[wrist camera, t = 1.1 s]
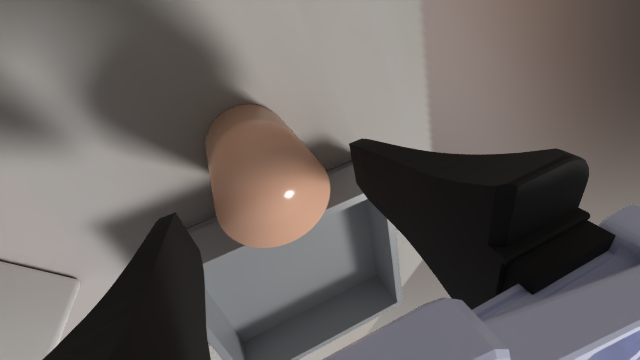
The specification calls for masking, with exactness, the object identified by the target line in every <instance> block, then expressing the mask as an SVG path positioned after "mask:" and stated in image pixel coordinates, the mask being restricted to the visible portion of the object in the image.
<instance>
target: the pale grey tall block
mask: <svg viewBox="0 0 640 360" xmlns="http://www.w3.org/2000/svg"><path fill="white" fill-rule="evenodd" d="M79 288H80V281H79V280H77V279H74V278H69V277H65V276H61V275H57V274H52V273H48V272H44V271H39V270H35V269H31V268H27V267H22V266H18V265H14V264H10V263H5V262H1V261H0V360H42V359H43V358H44V357H46V356H47V355H48V354H49V353H50V352H51V351H52V350H53V349H54V348H55V347H56V346H57V345H58V343H59V341H60V338H61V336H62V333H63V330H64V328H65V325H66V322H67V320H68V317H69V314H70V312H71V309H72V306H73V304H74V301H75V298H76V296H77V293H78V291H79Z"/></svg>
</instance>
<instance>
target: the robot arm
mask: <svg viewBox="0 0 640 360" xmlns="http://www.w3.org/2000/svg"><path fill="white" fill-rule="evenodd" d="M349 146H350V151H351V157H352V162H353V168H354V173H355V179H356V184H357V185H358V186H359V188H360V189H361V191H362V192H363V193H364V195H365V196H366V197H367V199H368V200H369V201H370V202H371V203H372V204H373V205H374V206H375V207H376V208H377V209H378V210H379V211H380V212H381V213H382V214H383V215H384V216H385V217H386V218H387V219H388V220H389V221H390V222H391V223H392V224H393V225H394V226H395V227H396V228H397V229H398V230H399V231H400V232H401V233H402V234H403V235H404V236H405V237H406V239H407V240H408V241H409V242H410V243H411V245H412V246H413V247H414V248H415V250H416V251H417V252H418V253H419V255H420V256H421V257H422V258H423V260H424V261H425V262H426V264H427V265H428V266H429V268H430V269H431V270H432V272H433V273H434V274H435V275H436V277H437V278H438V280H439V281H440V283H441V284H442V285H443V287H444V288H445V290H446V291H447V292H448V294H449V295H450V297H451V298H440V299H437V300H434V301H432V302H429V303H426V304H423V305H421V306H420V307H418V308H416V309H414V310H412V311H410V312H409V313H407V314H405V315H403V316H401V317H399V318H398V319H396V320H394V321H392V322H390V323H389V324H387V325H385V326H383V327H381V328H379V329H378V330H376V331H374V332H372V333H370V334H368V335H367V336H365V337H363V338H361V339H359V340H357V341H356V342H354V343H352V344H350V345H348V346H346V347H345V348H343V349H341V350H339V351H337V352H335V353H334V354H332V355H330V356H328V357H326V358H324V359H323V360H640V206H638V205H635V204H632V205H628V206H626V207H625V208H623V209H621V210H619V211H617V212H616V213H614V214H612V215H610V216H609V217H607V218H606V219H604V220H603V221H602V222H601V223H600V225H599V226H597V225H595V224H593V223H591V222H590V221H587V220H588V219H589V218H590V214H589V213H588V212H586V211H584V210H582V209H580V208H578V206H579V204H580V201H581V198H582V196H583V193H584V190H585V187H586V184H587V181H588V177H589V167H588V164H587V163H586V161H585V160H584V159H583V158H581V157H578V156H575V155H573V154H570V153H568V152H565V151H563V150H559V149H549V150H540V151H532V152H523V153H510V154H492V155H491V154H490V155H465V154H448V153H437V152H429V151H423V150H416V149H411V148H406V147H401V146H396V145H392V144H387V143H383V142H378V141H374V140H369V139H360V140H357V141H355V142H352V143H350V144H349ZM42 360H210V353H209V347H208V340H207V329H206V304H205V278H204V269H203V263H202V258H201V253H200V250H199V248H198V246H197V245H196V243H195V242H194V240H193V239H192V237H191V236H190V234H189V233H188V231H187V229H186V228H185V226H184V225H183V223H182V222H181V220H180V219H179V217H178V216H177V214H176V213H173V214H170V215H168V216H165V217H163V218H160V219H159V220H158V221H157V222H156V223H155V225H154V226H153V228H152V229H151V231H150V232H149V234H148V235H147V237H146V239H145V240H144V242H143V243H142V245H141V246H140V248H139V249H138V251H137V252H136V254H135V255H134V257H133V258H132V260H131V261H130V262H129V264H128V265H127V266H126V268H125V269H124V271H123V272H122V273H121V275H120V276H119V277H118V279H117V280H116V282H115V283H114V284H113V285H112V287H111V288H110V289H109V290H108V292H107V293H106V294H105V295H104V297H103V298H102V299H101V300H100V301H99V302H98V303H97V305H96V306H95V307H94V308H93V309H92V310H91V311H90V313H89V314H88V315H87V316H86V317H85V318H84V319H83V320H82V321H81V322H80V323H79V324H78V325H77V326H76V327H75V328H74V329H73V330H72V331H71V332H70V333H69V334H68V335H67V336H66V337H65V338H64V339H63V340H62V341H61V342H60V343H59V344H58V345H57V346H56V347H55V348H54V349H53V350H52V351H51V352H50V353H49V354H48V355H47V356H46V357H44V358H43V359H42Z"/></svg>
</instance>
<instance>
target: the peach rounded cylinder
mask: <svg viewBox="0 0 640 360" xmlns="http://www.w3.org/2000/svg"><path fill="white" fill-rule="evenodd" d="M205 147H206V155H207V161H208V168H209V174H210V181H211V187H212V194H213V200H214V207H215V213H216V217H217V220H218V222H219V224H220V226H221V228H222V229H223V231H224V232H225V233H226V234H227V235H228V236H229V237H231V238H232V239H233V240H235V241H237V242H238V243H241V244H243V245H246V246H250V247H256V248H272V247H277V246H281V245H285V244H288V243H290V242H293V241H294V240H296V239H298V238H300V237H302V236H303V235H305V234H306V233H307V232H308V231H310V230H311V229H312V228H313V227H314V226H315V225H316V224H317V222H318V221H319V220H320V218H321V217H322V216H323V214H324V212H325V210H326V207H327V205H328V202H329V198H330V182H329V178H328V174H327V172H326V170H325V168H324V167H323V166H322V164H321V163H320V162H319V161H318V159H317V158H316V157H315V156H314V155H313V154H312V153H311V152H310V150H309V149H308V148H307V147H306V146H305V145H304V144H303V143H302V142H301V140H300V139H299V138H298V137H297V136H296V135H295V134H294V133H293V131H292V130H291V129H290V128H289V127H288V126H287V125H286V124H285V122H284V121H283V120H282V119H281V118H280V117H279V116H278V115H277V114H276V113H274V112H273V111H272V110H270V109H268V108H266V107H263V106H259V105H254V104H244V105H238V106H235V107H232V108H230V109H228V110H226V111H224V112H223V113H221V114H220V115H219V116H218V117H217V118H216V119H215V120H214V121H213V123H212V124H211V126H210V128H209V130H208V132H207V136H206V143H205Z"/></svg>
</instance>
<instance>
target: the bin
mask: <svg viewBox="0 0 640 360" xmlns="http://www.w3.org/2000/svg"><path fill="white" fill-rule="evenodd" d="M326 172H327V174H328V178H329V182H330V198H329V202H328V205H327V207H326V210H325V212H324V214H323V216H322V217H321V218H320V220H319V221H318V222H317V224H316V225H315V226H314V227H313V228H312V229H311V230H310V231H308V232H307V233H306V234H305V235H303V236H302V237H300V238H298V239H296V240H294V241H293V242H290V243H288V244H285V245H281V246H277V247H272V248H256V247H250V246H246V245H243V244H241V243H238V242H237V241H235V240H233V239H232V238H231V237H229V236H228V235H227V234H226V233H225V232H224V231H223V229H222V228H221V226H220V224H219V222H218V220H217V217H214V218H212V219H209V220H207V221H204V222H202V223H199V224H197V225H195V226H192V227H190V228H187V231H188V233H189V234H190V236H191V237H192V239H193V240H194V242H195V243H196V245H197V246H198V248H199V250H200V253H201V258H202V263H203V269H204V278H205V304H206V329H207V340H208V342H209V344H210V345H211V346H212V347H213V348H214V350H215V351H216V352H217V353H218V354H219V356H220V357H221V358H222V359H223V360H299V359H300V358H302V357H304V356H306V355H308V354H310V353H312V352H313V351H315V350H317V349H319V348H321V347H323V346H325V345H326V344H328V343H330V342H332V341H334V340H336V339H338V338H339V337H341V336H343V335H345V334H347V333H349V332H351V331H352V330H354V329H356V328H358V327H360V326H362V325H363V324H365V323H367V322H369V321H371V320H373V319H375V318H376V317H378V316H380V315H382V314H384V313H386V312H388V311H389V310H391V309H393V308H395V307H397V306H399V305H401V304H402V303H403V298H402V288H401V278H400V268H399V258H398V248H397V239H396V229H395V226H394V225H393V224H392V223H391V222H390V221H389V220H388V219H387V218H386V217H385V216H384V215H383V214H382V213H381V212H380V211H379V210H378V209H377V208H376V207H375V206H374V205H373V204H372V203H371V202H370V201H369V200H368V199H367V197H366V196H365V195H364V193H363V192H362V191H361V189H360V188H359V186H358V185H357V184H356V179H355V173H354V168H353V162H352V161H350V162H348V163H345V164H343V165H340V166H338V167H336V168H333V169H331V170H328V171H326Z"/></svg>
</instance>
